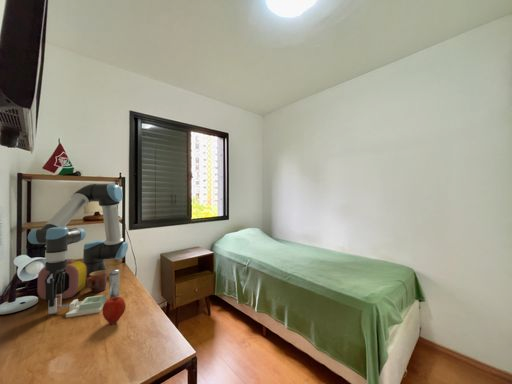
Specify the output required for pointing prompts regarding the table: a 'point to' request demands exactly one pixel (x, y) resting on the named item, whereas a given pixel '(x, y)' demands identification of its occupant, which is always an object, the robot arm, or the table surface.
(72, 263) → the alarm clock
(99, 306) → the dock
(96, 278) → the mug
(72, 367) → the table surface
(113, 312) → the apple
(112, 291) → the silver metal cylinder
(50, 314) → the pin
